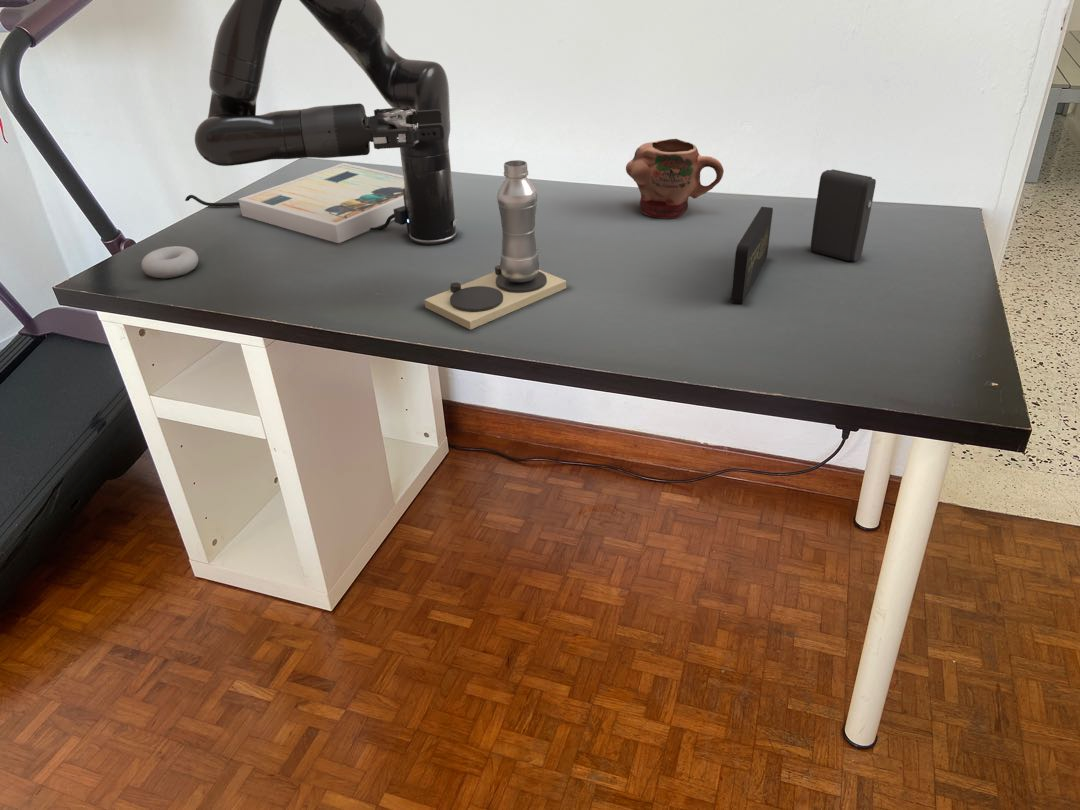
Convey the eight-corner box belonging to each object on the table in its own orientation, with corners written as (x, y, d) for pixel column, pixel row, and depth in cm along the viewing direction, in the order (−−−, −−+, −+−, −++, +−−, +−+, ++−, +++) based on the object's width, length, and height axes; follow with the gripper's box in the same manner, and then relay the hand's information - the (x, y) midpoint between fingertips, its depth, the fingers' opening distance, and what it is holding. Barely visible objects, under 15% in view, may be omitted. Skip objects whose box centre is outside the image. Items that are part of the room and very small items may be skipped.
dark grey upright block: (864, 257, 154) (880, 176, 146) (854, 264, 151) (869, 182, 143) (818, 245, 159) (830, 166, 151) (807, 252, 157) (819, 172, 149)
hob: (425, 307, 141) (423, 292, 140) (520, 269, 154) (519, 255, 152) (470, 330, 134) (469, 314, 133) (566, 288, 146) (566, 274, 145)
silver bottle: (500, 272, 148) (493, 158, 137) (538, 270, 148) (535, 156, 137) (501, 288, 142) (494, 170, 131) (541, 285, 142) (537, 168, 132)
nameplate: (741, 305, 138) (748, 248, 133) (730, 303, 139) (736, 246, 134) (766, 258, 155) (773, 206, 149) (756, 257, 155) (762, 204, 150)
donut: (176, 284, 153) (211, 262, 161) (171, 267, 151) (207, 245, 159) (132, 278, 156) (168, 257, 164) (126, 261, 154) (163, 240, 162)
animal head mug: (721, 204, 180) (727, 138, 172) (718, 224, 170) (724, 155, 162) (628, 199, 184) (630, 135, 177) (620, 219, 174) (621, 151, 167)
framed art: (335, 225, 165) (238, 198, 181) (338, 243, 167) (242, 215, 183) (439, 183, 186) (343, 162, 201) (440, 199, 188) (346, 178, 203)
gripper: (328, 118, 120) (442, 109, 121) (334, 95, 132) (437, 88, 133) (336, 170, 124) (447, 161, 126) (341, 143, 136) (442, 135, 137)
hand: (442, 123), depth 129 cm, fingers open, 8 cm apart
